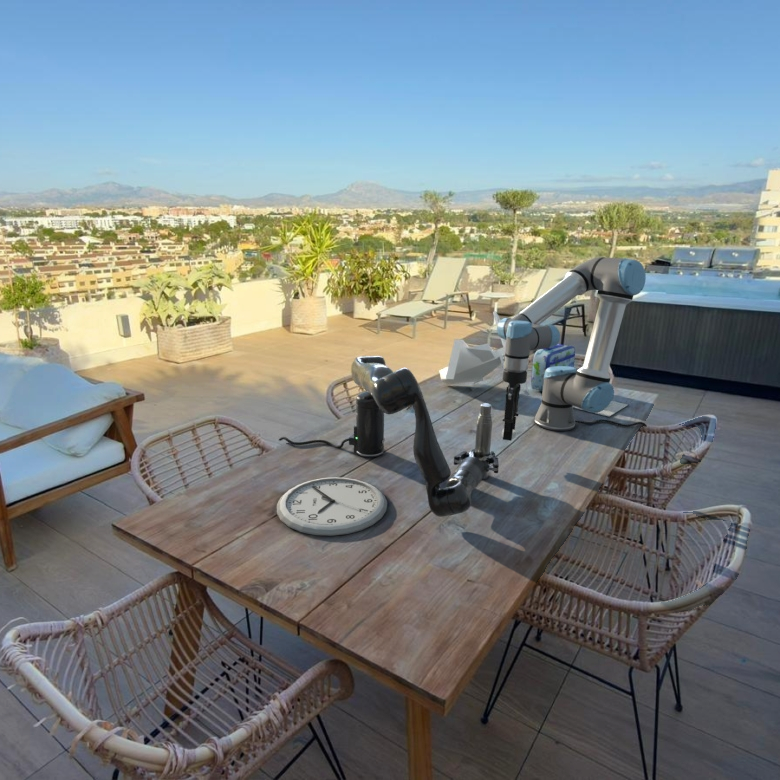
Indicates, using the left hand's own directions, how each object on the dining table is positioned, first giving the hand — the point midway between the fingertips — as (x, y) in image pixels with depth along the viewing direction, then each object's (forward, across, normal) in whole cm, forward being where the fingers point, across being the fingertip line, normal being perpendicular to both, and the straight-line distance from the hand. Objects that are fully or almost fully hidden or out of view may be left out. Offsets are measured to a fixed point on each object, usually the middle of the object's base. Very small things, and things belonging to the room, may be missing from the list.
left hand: (484, 452), depth 162 cm
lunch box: (+103, -6, +7) cm, 103 cm away
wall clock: (-39, +32, +7) cm, 50 cm away
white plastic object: (+81, +24, +7) cm, 84 cm away
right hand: (+16, -4, 0) cm, 17 cm away
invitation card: (+85, -29, +7) cm, 90 cm away
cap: (+16, -4, -2) cm, 17 cm away
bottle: (-3, 0, +7) cm, 7 cm away
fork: (+49, +44, +7) cm, 66 cm away
